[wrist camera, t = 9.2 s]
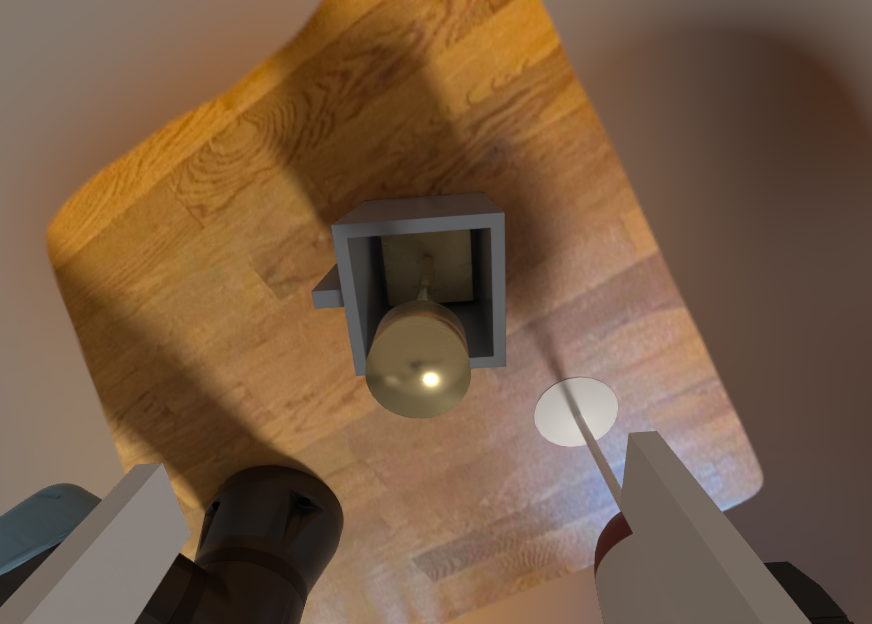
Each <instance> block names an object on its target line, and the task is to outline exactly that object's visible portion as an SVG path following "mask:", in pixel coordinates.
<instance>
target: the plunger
mask: <svg viewBox="0 0 872 624" xmlns="http://www.w3.org/2000/svg"><path fill="white" fill-rule="evenodd" d="M381 242H382V250H383V258H384V266H385V274H386V282H387V290H388V299H389V306H396V307H394V308H393V309H391V310H390V311H389V312H388V313H387V314H386V315H385V316H384V317H383V319H382V320H381V322H380V323H379V326H378V328H377V331H376V334H375V337H374V340H373V343H372V346H371V349H370V352H369V355H368V358H367V361H366V366H365V376H366V381H367V385H368V387H369V390H370V392H371V393H372V395H373V396H374V398H375V399H376V400H377V401H378V402H379V403H380V404H381V405H382V406H383V407H385V408H386V409H388V410H389V411H391V412H393V413H395V414H398V415H401V416H404V417H409V418H430V417H434V416H437V415H440V414H443V413H445V412H447V411H448V410H450V409H452V408H453V407H454V406H455V405H457V404H458V403H459V402H460V400H461V399H462V398H463V397H464V395H465V393H466V391H467V389H468V387H469V384H470V379H471V368H470V360H469V354H468V347H467V341H466V334H465V330H464V328H463V325H462V323H461V322H460V320H459V319H458V317H457V316H456V315H455V314H454V313H453V312H452V311H451V310H449V309H448V308H446V307H445V306H443V305H441V304H438V303H442V302H457V301H472V300H473V286H472V262H471V238H470V229H464V230H450V231H437V232H423V233H409V234H395V235H382V236H381Z"/></svg>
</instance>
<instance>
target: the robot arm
mask: <svg viewBox="0 0 872 624" xmlns="http://www.w3.org/2000/svg"><path fill="white" fill-rule="evenodd" d="M620 509H621V511H622V513H623V515H624V517H625V519H626V521H627V522H628V524H629V526H630V528H631V530H632V532H633V534H634V536H635V538H636V540H637V541H638V543H639V545H640V547H641V549H642V551H643V553H644V555H645V557H646V559H647V560H648V562H649V564H650V566H651V568H652V570H653V572H654V574H655V576H656V578H657V579H658V581H659V583H660V585H661V587H662V589H663V591H664V593H665V595H666V597H667V598H668V600H669V602H670V604H671V606H672V608H673V610H674V612H675V614H676V616H677V617H678V619H679V621H680V623H681V624H854V623H853V622H850V621H849V620H848V619H847V615H846V614H845V613H844V612H843V611H842V610H841V609H840V607H839V606H838V605H837V604H836V603H835V602H834V601H833V600H832V598H831V597H830V596H829V595H828V594H827V593H826V592H825V591H824V590H823V588H822V587H821V586H820V585H818V584H817V583H816V582H814V581H813V580H812V579H810V578H809V577H808V576H806V575H805V574H804V573H802V572H801V571H800V570H798V569H797V568H796V567H794V566H793V565H792V564H790V563H789V562H772V563H762V561H761V560H760V559H759V558H758V556H757V555H756V554H755V553H754V551H753V550H752V549H751V548H750V547H749V545H748V544H747V543H746V541H745V540H744V539H743V538H742V537H741V535H740V534H739V533H738V532H737V530H736V529H735V528H734V527H733V525H732V524H731V523H730V522H729V521H728V519H727V518H726V517H725V515H724V514H723V513H722V512H721V510H720V509H719V508H718V507H717V505H716V504H715V503H714V502H713V500H712V499H711V498H710V497H709V495H708V494H707V493H706V492H705V490H704V489H703V488H702V487H701V486H700V484H699V483H698V482H697V481H696V479H695V478H694V477H693V476H692V474H691V473H690V472H689V471H688V469H687V468H686V467H685V466H684V464H683V463H682V462H681V461H680V459H679V458H678V457H677V456H676V454H675V453H674V452H673V451H672V449H671V448H670V447H669V446H668V444H667V443H666V442H665V441H664V440H663V438H662V437H661V436H660V435H659V433H658V432H657V431H650V432H635V433H629V436H628V444H627V453H626V461H625V469H624V478H623V486H622V494H621V503H620ZM342 529H343V513H342V509H341V506H340V504H339V502H338V500H337V499H336V497H335V496H334V495H333V493H332V492H331V491H330V490H329V489H328V488H327V487H326V486H325V485H323V484H322V483H321V482H319V481H318V480H316V479H315V478H313V477H311V476H309V475H307V474H305V473H302V472H300V471H297V470H294V469H290V468H285V467H278V466H260V467H254V468H249V469H246V470H243V471H240V472H238V473H236V474H234V475H232V476H231V477H229V478H228V479H227V480H226V481H225V482H224V483H223V484H222V485H221V486H220V488H219V489H218V491H217V492H216V494H215V495H214V497H213V499H212V500H211V502H210V504H209V505H208V508H207V510H206V513H205V517H204V521H203V526H202V530H201V534H200V539H199V543H198V547H197V552H196V556H195V560H194V562H193V561H191V560H190V559H188V558H187V557H185V556H184V555H182V554H181V553H179V552H180V551H181V549H182V547H183V546H184V544H185V543H186V541H187V540H188V538H189V536H190V535H191V533H190V531H189V528H188V525H187V523H186V520H185V518H184V515H183V513H182V510H181V508H180V505H179V503H178V500H177V498H176V495H175V493H174V490H173V488H172V485H171V483H170V480H169V478H168V475H167V473H166V470H165V468H164V465H163V463H154V464H138V465H135V466H134V467H133V468H132V469H131V471H130V472H129V473H128V474H127V475H126V476H125V477H124V478H123V479H122V480H121V481H120V482H119V483H118V484H117V485H116V487H114V488H113V490H112V491H111V492H110V493H109V494H108V495H107V496H106V497H105V498H104V499H103V500H102V499H100V498H98V497H97V496H95V495H93V494H92V493H90V492H88V491H87V490H85V489H83V488H82V487H80V486H77V485H74V484H68V483H63V484H56V485H52V486H49V487H46V488H44V489H42V490H40V491H38V492H37V493H35V494H33V495H32V496H31V497H29V498H27V499H26V500H24V501H23V502H21V503H20V504H18V505H17V506H15V507H14V508H12V509H11V510H9V511H8V512H7V513H5V514H4V515H2V516H1V517H0V624H300V621H301V618H302V613H303V610H304V607H305V603H306V600H307V597H308V594H309V593H310V591H311V590H312V588H313V586H314V585H315V583H316V582H317V580H318V579H319V577H320V576H321V574H322V573H323V571H324V569H325V568H326V566H327V565H328V563H329V562H330V560H331V559H332V557H333V555H334V554H335V552H336V550H337V547H338V545H339V541H340V537H341V533H342Z"/></svg>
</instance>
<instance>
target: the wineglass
mask: <svg viewBox="0 0 872 624" xmlns="http://www.w3.org/2000/svg"><path fill="white" fill-rule="evenodd" d="M617 413H618V402H617V399H616V397H615V395H614V393H613V391H612V390H611V389H610V388H609V387H608V386H607V385H606V384H604V383H602V382H600V381H598V380H595V379H592V378H584V377H578V378H571V379H566V380H564V381H561V382H559V383H557V384H555V385H553V386H552V387H551V388H549V389H548V390H547V391H546V392H545V393H544V394H543V395H542V397H541V398H540V400H539V401H538V403H537V405H536V409H535V413H534V417H535V425H536V427H537V428H538V430H539V432H540V434H541V435H542V436H544V437H545V438H546V439H547V440H548V441H550V442H552V443H555V444H557V445H560V446H569V447H574V446H581V445H586V444H587V445H588V447H589V449H590V451H591V453H592V455H593V457H594V459H595V461H596V463H597V465H598V467H599V469H600V471H601V473H602V475H603V477H604V479H605V481H606V483H607V485H608V487H609V489H610V491H611V493H612V495H613V497H614V499H615V501H616V503H617V505H618V507H619V509H620V503H621V494H622V489H621V487H620V485H619V483H618V481H617V479H616V478H615V476H614V474H613V472H612V470H611V468H610V467H609V465H608V463H607V461H606V459H605V457H604V455H603V454H602V452H601V450H600V448H599V446H598V444H597V442H596V440H597V439H599V438H600V437H601V436H603V435H604V434H605V433H607V432H608V430H609V429H610V428H611V426H612V425H613V424H614V422H615V419H616V416H617ZM620 511H621V509H620ZM594 572H595V573H594V574H595V584H596V590H597V596H598V601H599V606H600V610H601V614H602V618H603V622H604V624H681V623H680V621H679V619H678V617H677V616H676V614H675V612H674V610H673V608H672V606H671V604H670V602H669V600H668V598H667V597H666V595H665V593H664V591H663V589H662V587H661V585H660V583H659V581H658V579H657V578H656V576H655V574H654V572H653V570H652V568H651V566H650V564H649V562H648V560H647V559H646V557H645V555H644V553H643V551H642V549H641V547H640V545H639V543H638V541H637V540H636V538H635V536H634V534H633V532H632V530H631V528H630V526H629V524H628V522H627V521H626V519H625V517H624V515H623V513H622V511H621V512H619V513H618V514H616V515H615V516H614V517H613V518H612V519H611V520H610V521H609V522H608V524H607V525H606V527H605V528H604V530H603V531H602V533H601V534H600V537H599V539H598V543H597V547H596V551H595V563H594Z"/></svg>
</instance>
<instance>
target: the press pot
mask: <svg viewBox="0 0 872 624" xmlns="http://www.w3.org/2000/svg"><path fill="white" fill-rule="evenodd" d="M331 229H332V235H333V241H334V247H335V253H336V259H337V264H335V265H334V267H333V268H332V269H331V270H330V271H329V272H328V273H327V275H326V276H325V277H324V278H323V279H322V280H321V281H320V282H319V284H318V285H317V286H316V287H315V288H314V289H313V290H312V297H313V302H314V307H315V309H319V308H333V307H345V313H346V319H347V325H348V331H349V337H350V343H351V349H352V354H353V360H354V366H355V372H356V376H361V375H365V366H366V361H367V358H368V355H369V352H370V349H371V346H372V343H373V340H374V337H375V334H376V331H377V328H378V326H379V323H380V322H381V320H382V319H383V317H384V316H385V315H386V314H387V313H388V312H389V311H390V310H391V309H393V308H394V307H396V306H389V299H388V290H387V282H386V274H385V266H384V258H383V250H382V242H381V236H382V235H395V234H409V233H423V232H437V231H450V230H464V229H470V238H471V262H472V286H473V300H472V301H457V302H442V303H438V304H441V305H443V306H445V307H446V308H448V309H449V310H451V311H452V312H453V313H454V314H455V315H456V316H457V317H458V319H459V320H460V322H461V323H462V325H463V328H464V330H465V334H466V341H467V347H468V354H469V360H470V368H471V369H473V368H489V367H505V366H506V292H505V212H504V211H503V210H502V209H501V208H499V207H498V206H497V205H496V204H495V203H494V202H493V201H492V200H491V199H490V198H489V197H488V196H487V195H486V194H485V193H484V192H473V193H460V194H447V195H433V196H420V197H407V198H394V199H380V200H367V201H364V202H363V203H361V204H360V205H358V206H357V207H356V208H354V209H353V210H351V211H350V212H349V213H347V214H346V215H344V216H343V217H342V218H340V219H339V220H337V221H336V222H335V223H333V224H332V225H331Z"/></svg>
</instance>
